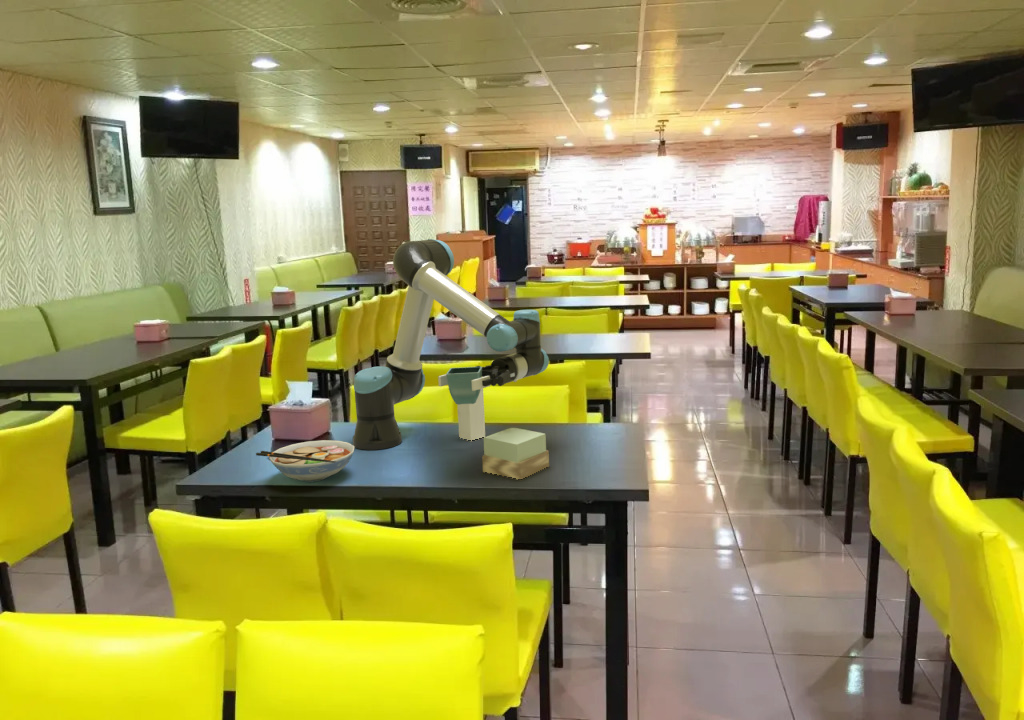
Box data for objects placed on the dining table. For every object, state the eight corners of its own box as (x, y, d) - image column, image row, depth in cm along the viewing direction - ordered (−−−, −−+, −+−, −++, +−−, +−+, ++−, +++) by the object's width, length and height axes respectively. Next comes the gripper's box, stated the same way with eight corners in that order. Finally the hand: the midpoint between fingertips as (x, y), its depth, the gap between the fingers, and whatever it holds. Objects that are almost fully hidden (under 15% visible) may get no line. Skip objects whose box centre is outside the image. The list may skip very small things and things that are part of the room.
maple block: (483, 473, 212) (482, 455, 212) (511, 460, 223) (511, 443, 222) (521, 481, 205) (520, 463, 204) (549, 468, 215) (548, 450, 214)
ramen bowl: (376, 469, 218) (374, 441, 217) (325, 496, 198) (322, 466, 196) (305, 461, 229) (303, 434, 227) (249, 486, 208) (246, 456, 207)
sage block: (484, 455, 212) (483, 437, 211) (513, 444, 221) (512, 427, 220) (517, 462, 204) (516, 444, 203) (546, 451, 213) (545, 433, 212)
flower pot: (452, 399, 214) (450, 367, 212) (484, 398, 213) (482, 366, 212) (448, 407, 205) (445, 373, 204) (481, 405, 205) (479, 372, 203)
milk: (485, 437, 246) (482, 369, 242) (470, 441, 242) (467, 372, 238) (473, 434, 250) (470, 367, 246) (458, 438, 246) (455, 370, 242)
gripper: (541, 385, 215) (490, 402, 199) (477, 378, 230) (425, 392, 213) (540, 358, 214) (489, 373, 197) (476, 353, 229) (423, 366, 212)
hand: (455, 383), depth 205 cm, fingers closed on flower pot, 11 cm apart
